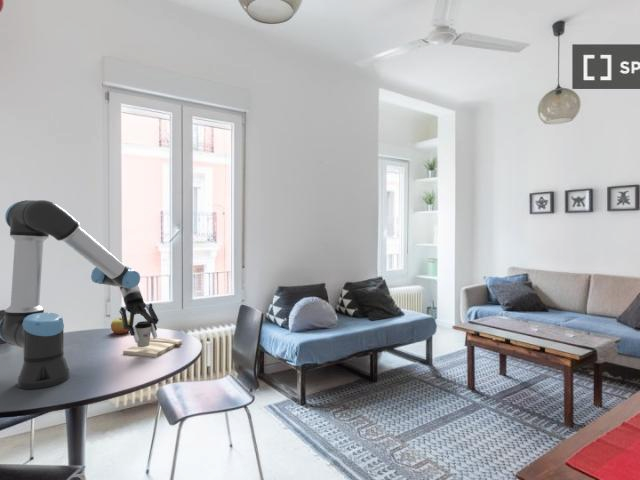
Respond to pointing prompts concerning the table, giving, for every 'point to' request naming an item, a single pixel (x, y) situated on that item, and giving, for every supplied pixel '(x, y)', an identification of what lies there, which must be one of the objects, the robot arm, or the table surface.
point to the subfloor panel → (153, 347)
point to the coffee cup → (143, 333)
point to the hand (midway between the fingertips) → (146, 339)
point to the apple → (119, 326)
